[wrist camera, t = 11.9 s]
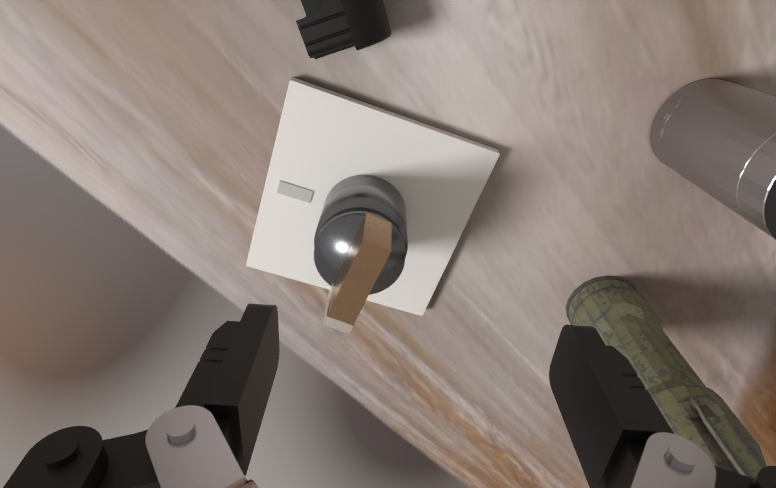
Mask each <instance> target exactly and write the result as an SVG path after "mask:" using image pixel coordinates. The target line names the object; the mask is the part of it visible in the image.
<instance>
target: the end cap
mask: <svg viewBox="0 0 776 488" xmlns="http://www.w3.org/2000/svg"><path fill="white" fill-rule="evenodd" d="M301 2H302V5H303V7H304V10H305V13H306V17H305V18H303V19H300V20H297V21H296V22H297V25H298V28H299V30H300V33H301V36H302V39H303V41H304V44H305V47H306V50H307V52H308V55H309V56H310V58H315V59H317V58H320V57H323V56H326V55H329V54H332V53H335V52H338V51H341V50H344V49H347V48H350V47H353V46H355V47H356V50H360V49H363V48H365V47H368V46H371V45H373V44H376V43H378V42H380V41H382V40H385V39H386V38H388V37H389V36H390V35H391V29H390V25H389V21H388V18H387V14H386V11H385V7H384V4H383V0H301Z"/></svg>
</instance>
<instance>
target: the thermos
mask: <svg viewBox="0 0 776 488" xmlns="http://www.w3.org/2000/svg"><path fill="white" fill-rule="evenodd" d="M566 313H567V317H568V319H569V321H570V323H571V324H572V325H580V326H593V327H595V328H596V330H597V331H598V333H599V335H600V336H601V338H602V340H603V341H604V343H605V345H607V346H613V347H615V348H616V349H617V350H618V351H619V352H620V353H621V354H623V355H624V356H625V357H626V358H627V359H628V360H629V361H630V363H631V365H632V366H633V368H634V370H635V371H636V373H637V374H638V375H637V377H639V378H640V379H641V381H642V382H643V384H644V386H645V390H648V392H649V394H650V395H651V397H652V399H653V400H654V402H655V403H656V405H657V407H658V408H659V410H660V411H661V413H662V415H663V416H664V418H665V420H666V421H667V423H668V424H669V426H670V428H671V429H672V431H673V432H674V434H676V435H679V436H681V437H683V438H686V439H687V440H689V441H691V442H693V443H694V444H696V445H697V446H698V447H699V448H701V449H702V450H703V451H704V452H705V453H706V454H707V455H708V457H709V458H710V459H711V461H712V462H713V464H714V466H717V467H719V468H723V469H726V470H729V471H732V472H735V473H738V474H741V475H745V476H748V477H751V478H755V476H756V475H757V473H758V472H759V471H760V470H761V469H762V468H764V467H767V466H766V463H765V460H764V458H763V455H762V452H761V449H760V447H759V445H758V444H757V442H756V441H755V440H754V439H753V437H752V436H751V435H750V433H749V432H748V431H747V430H746V428H745V427H744V426H743V425H742V423H741V422H740V421H739V419H738V418H737V417H736V416H735V414H734V413H733V412H732V411H731V409H730V408H729V407H728V405H727V404H726V403H725V402H724V400H723V399H722V398H721V397H720V396H719V395H718V394H716V393H715V392H714V391H713V390H711V389H709V388H707V387H706V386H705V385H704V384H703V382H702V381H701V380H700V378H699V377H698V376H697V374H696V373H695V372H694V371H693V369H692V368H691V367H690V365H689V364H688V363H687V361H686V360H685V359H684V358H683V356H682V355H681V354H680V352H679V351H678V350H677V348H676V347H675V346H674V345H673V343H672V342H671V341H670V339H669V338H668V337H667V335H666V334H665V333H664V332H663V330H662V325H661V320H660V318H659V316H658V315H657V314H656V313H655V311H654V310H653V309H652V308H651V306H650V305H649V304H648V303H647V301H646V300H645V299H644V298H643V297H642V296H641V295H640V294H639V293H638V292H636V290H635V288H634V287H633V286H632V285H631V284H630V283H629V282H628V281H626V280H624V279H622V278H619V277H614V276H603V277H598V278H594V279H591V280H589V281H587V282H585V283H583V284H582V285H581V286H579V287H578V288H577V289H576V290H574V292H573V293H572V295H571V296H570V297H569V299H568V302H567V306H566Z"/></svg>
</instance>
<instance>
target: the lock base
mask: <svg viewBox="0 0 776 488" xmlns="http://www.w3.org/2000/svg"><path fill="white" fill-rule="evenodd" d="M499 155H500V153H499V151H498V150H497V149H495V148H492V147H489V146H487V145H484V144H481V143H478V142H475V141H472V140H470V139H467V138H464V137H461V136H458V135H455V134H453V133H450V132H447V131H444V130H441V129H438V128H436V127H433V126H430V125H427V124H424V123H421V122H419V121H416V120H413V119H410V118H407V117H404V116H402V115H399V114H396V113H393V112H390V111H387V110H385V109H382V108H379V107H376V106H373V105H370V104H368V103H365V102H362V101H359V100H356V99H353V98H351V97H348V96H345V95H342V94H339V93H336V92H334V91H331V90H328V89H325V88H322V87H319V86H317V85H314V84H311V83H308V82H305V81H302V80H300V79H297V78H294V77H292V78H291V79H290V82H289V86H288V90H287V94H286V99H285V103H284V107H283V111H282V116H281V120H280V124H279V128H278V132H277V137H276V141H275V145H274V149H273V153H272V158H271V162H270V166H269V170H268V175H267V179H266V183H265V187H264V191H263V196H262V200H261V204H260V208H259V212H258V217H257V221H256V225H255V229H254V233H253V238H252V242H251V246H250V250H249V255H248V259H247V263H246V266H249V267H252V268H256V269H259V270H263V271H266V272H270V273H273V274H277V275H280V276H284V277H287V278H291V279H294V280H298V281H301V282H305V283H308V284H312V285H315V286H319V287H322V288H326V289H329V290H330V288H331V286H330V285H329V284H328V283H327V282H325V281H324V279H323V278H322V277H321V276H320V274H319V272H318V271H317V268H316V266H315V262H314V248H315V244H316V240H317V237H318V234H319V231H320V229H321V227H322V226H323V224H324V223H325V222H326V221H327V220H328V219H329V218H330V217H331V216H332V215H334V214H336V213H337V212H340V211H342V210H345V209H348V208H354V207H363V208H370V209H374V210H377V211H379V212H382V213H384V214H385V215H387V216H388V217H389V218H391V219H392V220H393V221H394V222H395V223H396V224H397V226H398V227H399V229H400V231H401V232H402V235H403V238H404V243H405V264H404V268H403V271H402V273H401V275H400V276H399V278H398V279H397V280H396V281H395V282H394V283H393V284H392V285H391V286H390V287H388V288H387V289H385V290H383V291H381V292H378V293H375V294H371V295H368V297H367V299H366V300H367V301H371V302H374V303H378V304H381V305H385V306H388V307H392V308H395V309H399V310H402V311H406V312H409V313H413V314H416V315H420V316H423V314H424V311H425V309H426V307H427V305H428V303H429V301H430V299H431V297H432V295H433V293H434V291H435V289H436V286H437V284H438V282H439V280H440V278H441V276H442V274H443V272H444V270H445V268H446V266H447V264H448V261H449V259H450V257H451V255H452V253H453V251H454V249H455V247H456V245H457V243H458V241H459V239H460V237H461V234H462V232H463V230H464V228H465V226H466V224H467V222H468V220H469V218H470V216H471V214H472V212H473V209H474V207H475V205H476V203H477V201H478V199H479V197H480V195H481V193H482V191H483V189H484V187H485V184H486V182H487V180H488V178H489V176H490V174H491V172H492V170H493V168H494V166H495V164H496V162H497V159H498V157H499Z"/></svg>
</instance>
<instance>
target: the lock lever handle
mask: <svg viewBox="0 0 776 488" xmlns="http://www.w3.org/2000/svg"><path fill="white" fill-rule="evenodd" d="M314 262H315V266H316V268H317V271H318V272H319V274H320V276H321V277H322V278H323V279H324V281H325V282H327V283H328V284H329V285H330V286H331V288H330V290H329V295H328V300H327V304H326V309H325V314H324V319H323V324H322V325H325V326H328V327H331V328H334V329H336V330H339V331H342V332H345V333H348V334H350V332H351V330H352V328H353V326H354V322H355V321H356V319H357V317H358V315H359V313H360V311H361V309H362V307H363V305H364V303H365V301H366V299H367V297H368V295H371V294H375V293H378V292H381V291H383V290H385V289H387V288H388V287H390V286H391V285H392V284H393V283H394V282H395V281H396V280H397V279H398V278H399V276H400V275H401V273H402V271H403V268H404V264H405V243H404V238H403V235H402V232H401V231H400V229H399V227H398V226H397V224H396V223H395V222H394V221H393V220H392V219H391V218H389V217H388V216H387V215H385V214H384V213H382V212H379V211H377V210H374V209H370V208H363V207H354V208H348V209H345V210H342V211H340V212H337V213H336V214H334V215H332V216H331V217H330V218H329V219H328V220H327V221H326V222H325V223H324V224H323V226H322V227H321V229H320V231H319V234H318V237H317V240H316V244H315V248H314Z"/></svg>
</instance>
